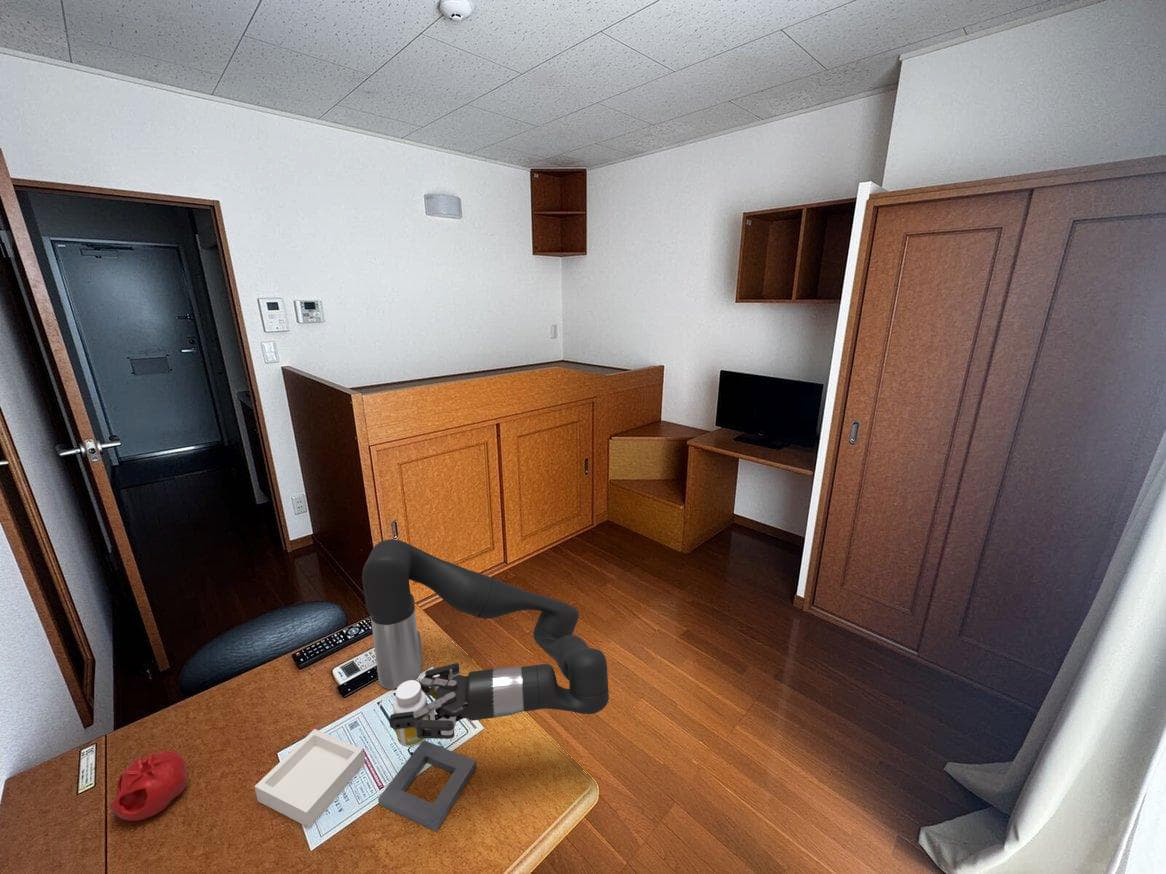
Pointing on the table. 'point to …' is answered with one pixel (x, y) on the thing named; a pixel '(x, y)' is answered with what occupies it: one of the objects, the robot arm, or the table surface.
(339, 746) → the bin
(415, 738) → the supplement bottle
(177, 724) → the table surface
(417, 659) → the robot arm
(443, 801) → the socket plate
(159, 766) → the pomegranate
